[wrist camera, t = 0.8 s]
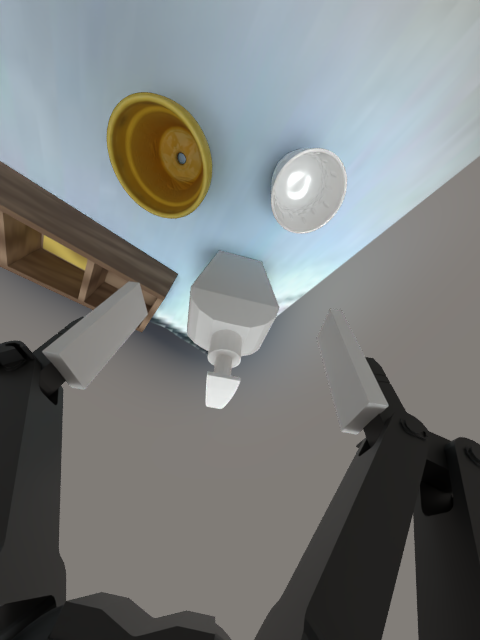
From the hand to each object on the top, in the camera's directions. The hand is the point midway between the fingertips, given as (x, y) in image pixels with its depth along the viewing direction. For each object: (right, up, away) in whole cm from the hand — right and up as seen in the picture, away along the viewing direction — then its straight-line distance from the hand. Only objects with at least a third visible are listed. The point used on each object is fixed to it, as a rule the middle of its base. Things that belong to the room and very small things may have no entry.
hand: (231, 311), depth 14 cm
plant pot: (-7, +22, +14) cm, 27 cm away
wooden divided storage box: (-30, +14, +23) cm, 40 cm away
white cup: (+9, +20, +15) cm, 26 cm away
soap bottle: (0, +9, +26) cm, 28 cm away
